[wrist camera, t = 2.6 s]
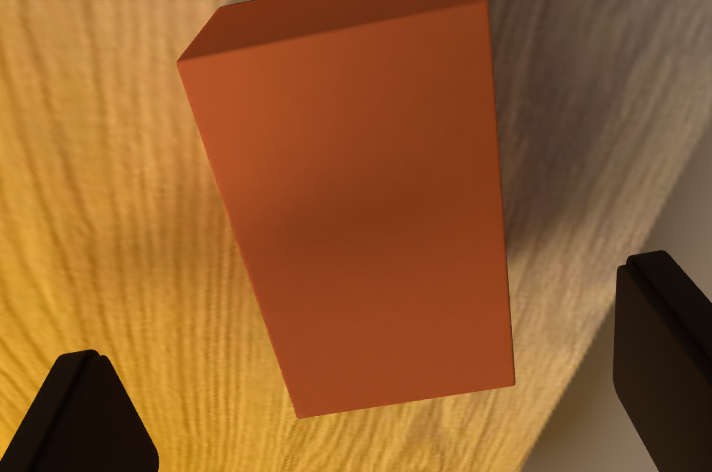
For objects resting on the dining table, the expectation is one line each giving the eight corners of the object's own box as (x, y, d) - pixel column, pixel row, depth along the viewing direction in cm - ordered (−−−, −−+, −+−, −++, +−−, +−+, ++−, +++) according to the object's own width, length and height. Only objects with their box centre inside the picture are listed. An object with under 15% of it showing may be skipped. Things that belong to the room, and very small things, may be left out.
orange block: (447, -40, 16) (489, -2, 11) (479, 277, 21) (516, 386, 16) (217, 7, 16) (174, 61, 12) (304, 306, 21) (296, 420, 17)
